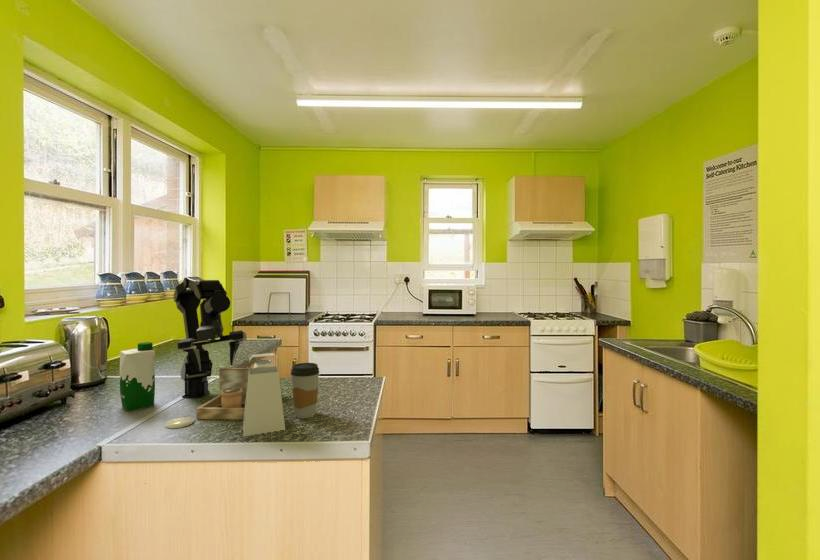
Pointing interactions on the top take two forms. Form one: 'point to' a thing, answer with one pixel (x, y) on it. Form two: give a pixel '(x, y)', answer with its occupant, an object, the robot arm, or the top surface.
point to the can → (263, 363)
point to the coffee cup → (305, 389)
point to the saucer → (179, 422)
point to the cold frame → (227, 380)
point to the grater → (263, 400)
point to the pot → (231, 397)
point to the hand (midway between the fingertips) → (215, 368)
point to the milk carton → (137, 377)
